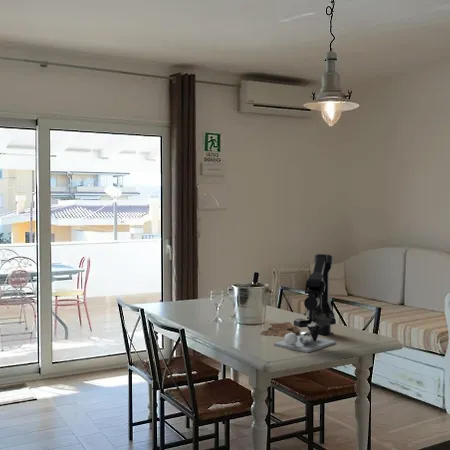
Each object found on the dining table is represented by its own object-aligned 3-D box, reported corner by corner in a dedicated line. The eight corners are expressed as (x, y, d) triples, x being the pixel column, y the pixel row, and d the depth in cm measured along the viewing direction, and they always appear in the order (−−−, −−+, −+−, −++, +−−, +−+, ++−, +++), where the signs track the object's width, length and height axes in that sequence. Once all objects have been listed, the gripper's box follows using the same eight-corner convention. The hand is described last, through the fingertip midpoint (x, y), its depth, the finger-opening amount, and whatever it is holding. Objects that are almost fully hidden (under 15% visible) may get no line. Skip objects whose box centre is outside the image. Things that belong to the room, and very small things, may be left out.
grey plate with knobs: (303, 336, 267) (303, 323, 267) (335, 343, 255) (335, 329, 255) (273, 345, 250) (274, 330, 250) (307, 352, 238) (307, 337, 238)
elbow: (300, 336, 261) (301, 325, 261) (317, 337, 259) (318, 327, 259) (296, 344, 247) (296, 332, 247) (314, 345, 245) (314, 334, 245)
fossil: (283, 339, 263) (283, 329, 263) (255, 334, 273) (255, 325, 272) (303, 331, 279) (303, 322, 279) (275, 327, 288) (276, 318, 288)
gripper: (306, 310, 235) (305, 347, 236) (343, 307, 242) (342, 343, 243) (293, 306, 246) (292, 341, 246) (329, 303, 253) (328, 337, 253)
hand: (314, 340), depth 247 cm, fingers closed
